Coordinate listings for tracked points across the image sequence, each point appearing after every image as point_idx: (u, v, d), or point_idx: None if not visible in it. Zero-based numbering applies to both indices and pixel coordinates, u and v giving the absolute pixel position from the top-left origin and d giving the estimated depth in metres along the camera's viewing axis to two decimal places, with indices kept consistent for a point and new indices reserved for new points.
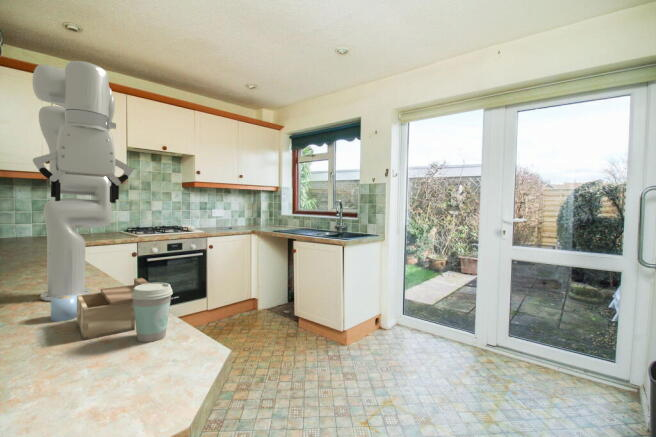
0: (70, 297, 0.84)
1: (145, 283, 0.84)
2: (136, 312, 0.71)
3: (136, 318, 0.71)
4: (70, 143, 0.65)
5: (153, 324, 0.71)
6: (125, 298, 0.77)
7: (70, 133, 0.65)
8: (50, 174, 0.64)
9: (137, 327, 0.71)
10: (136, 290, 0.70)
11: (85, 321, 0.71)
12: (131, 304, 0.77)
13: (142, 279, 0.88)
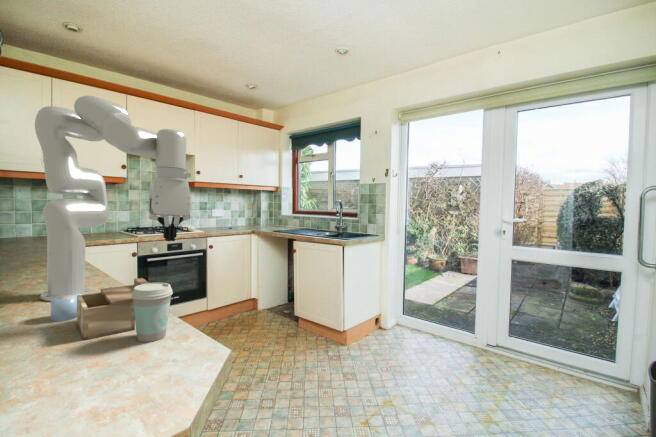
0: (70, 297, 0.84)
1: (145, 283, 0.84)
2: (136, 312, 0.71)
3: (136, 318, 0.71)
4: (161, 193, 0.85)
5: (153, 324, 0.71)
6: (125, 298, 0.77)
7: (161, 185, 0.84)
8: (163, 223, 0.86)
9: (137, 327, 0.71)
10: (136, 290, 0.70)
11: (85, 321, 0.71)
12: (131, 304, 0.77)
13: (142, 279, 0.88)
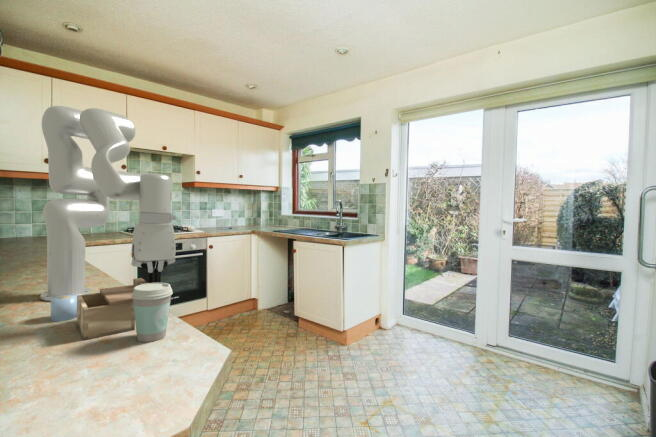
0: (70, 297, 0.84)
1: (144, 283, 0.84)
2: (136, 312, 0.71)
3: (136, 318, 0.71)
4: (144, 239, 0.82)
5: (153, 324, 0.71)
6: (124, 298, 0.77)
7: (144, 231, 0.82)
8: (146, 270, 0.84)
9: (137, 327, 0.71)
10: (136, 290, 0.70)
11: (85, 321, 0.71)
12: (131, 304, 0.77)
13: (141, 279, 0.88)
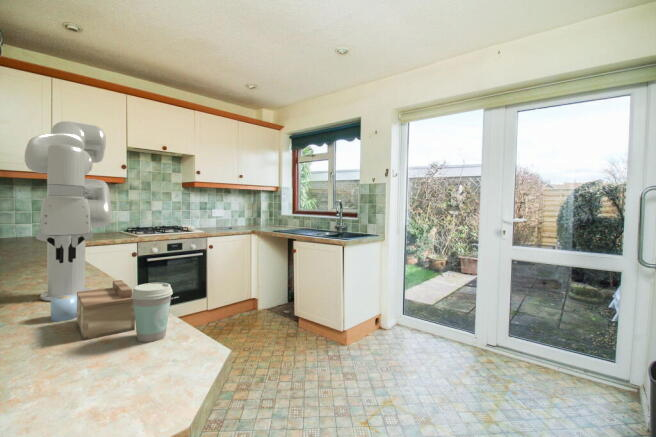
0: (70, 297, 0.84)
1: (123, 286, 0.80)
2: (136, 312, 0.71)
3: (136, 318, 0.71)
4: (51, 212, 0.79)
5: (153, 324, 0.71)
6: (100, 302, 0.73)
7: (51, 204, 0.79)
8: (53, 244, 0.81)
9: (137, 327, 0.71)
10: (136, 290, 0.70)
11: (85, 321, 0.71)
12: (131, 304, 0.77)
13: (121, 281, 0.84)
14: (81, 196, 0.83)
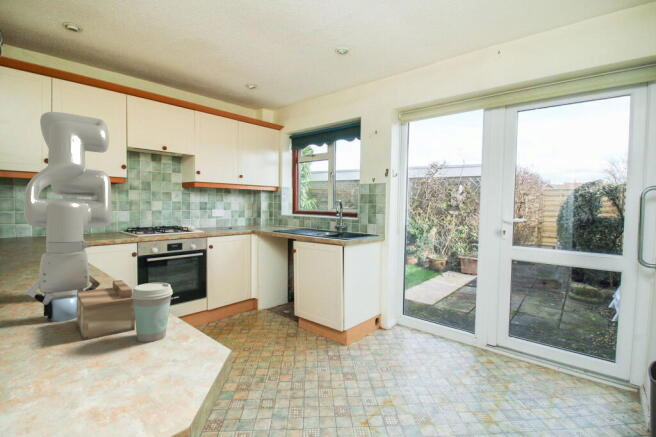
0: (70, 297, 0.84)
1: (123, 286, 0.80)
2: (136, 312, 0.71)
3: (136, 318, 0.71)
4: (50, 269, 0.80)
5: (153, 324, 0.71)
6: (100, 302, 0.73)
7: (50, 261, 0.80)
8: (42, 300, 0.80)
9: (137, 327, 0.71)
10: (136, 290, 0.70)
11: (85, 321, 0.71)
12: (131, 304, 0.77)
13: (121, 281, 0.84)
14: (80, 251, 0.83)
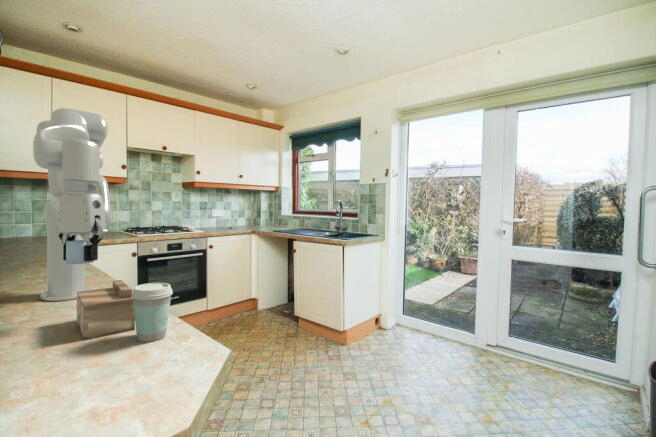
0: (80, 241, 0.79)
1: (123, 286, 0.80)
2: (136, 312, 0.71)
3: (136, 318, 0.71)
4: (62, 208, 0.78)
5: (153, 324, 0.71)
6: (100, 302, 0.73)
7: (62, 200, 0.78)
8: None
9: (137, 327, 0.71)
10: (136, 290, 0.70)
11: (85, 321, 0.71)
12: (131, 304, 0.77)
13: (121, 281, 0.84)
14: (81, 191, 0.77)
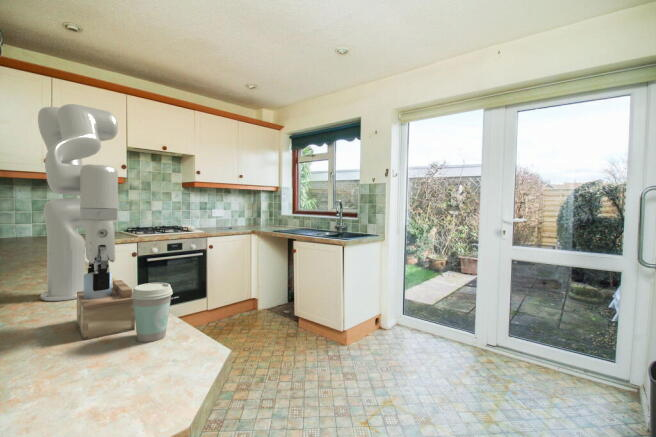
0: None
1: (123, 286, 0.80)
2: (136, 312, 0.71)
3: (136, 318, 0.71)
4: None
5: (153, 324, 0.71)
6: (100, 302, 0.73)
7: None
8: None
9: (137, 327, 0.71)
10: (136, 290, 0.70)
11: (85, 321, 0.71)
12: (131, 304, 0.77)
13: (121, 281, 0.84)
14: (88, 219, 0.74)
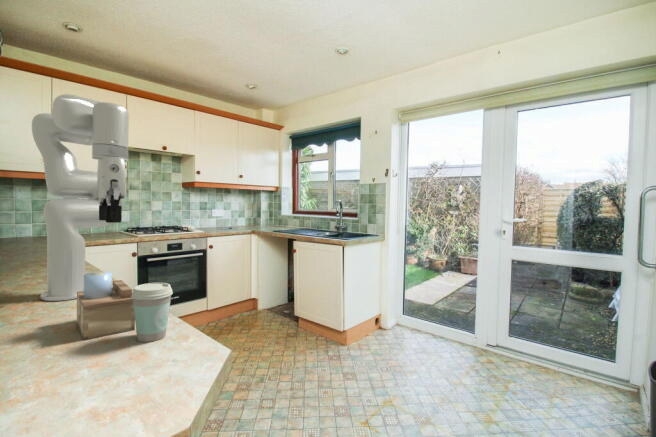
0: (93, 275, 0.76)
1: (123, 286, 0.80)
2: (136, 312, 0.71)
3: (136, 318, 0.71)
4: (97, 174, 0.81)
5: (153, 324, 0.71)
6: (100, 302, 0.73)
7: None
8: None
9: (137, 327, 0.71)
10: (136, 290, 0.70)
11: (85, 321, 0.71)
12: (131, 304, 0.77)
13: (121, 281, 0.84)
14: (101, 155, 0.76)
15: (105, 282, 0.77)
